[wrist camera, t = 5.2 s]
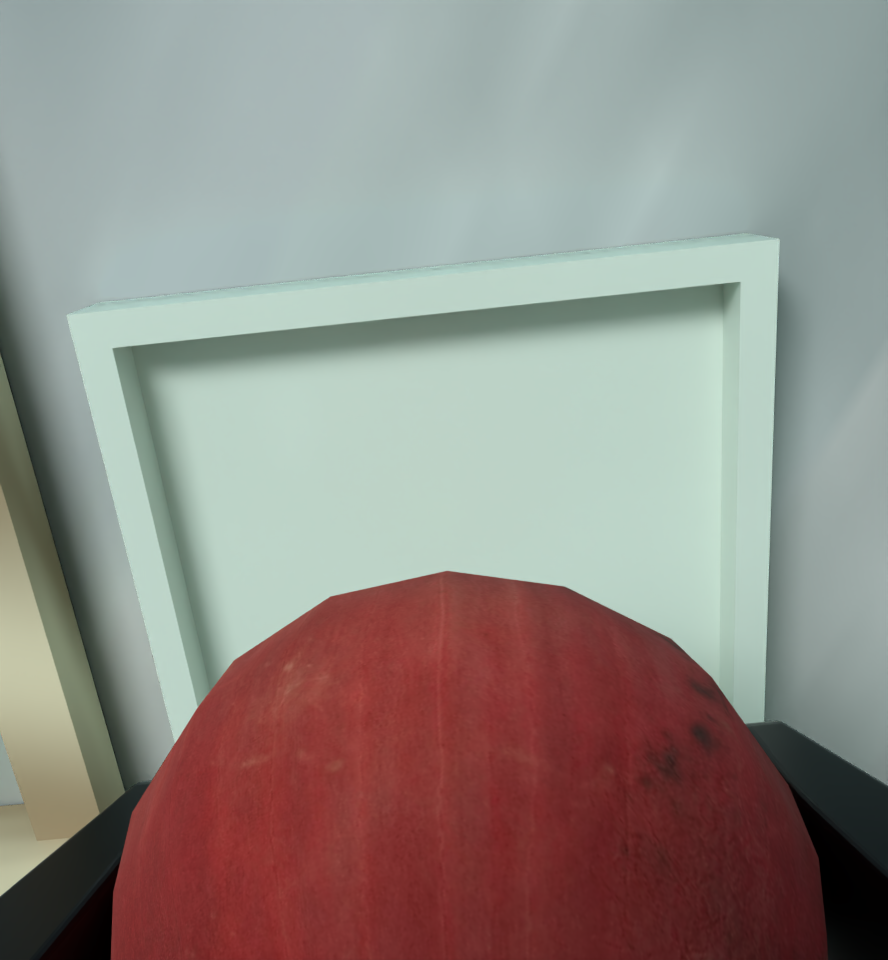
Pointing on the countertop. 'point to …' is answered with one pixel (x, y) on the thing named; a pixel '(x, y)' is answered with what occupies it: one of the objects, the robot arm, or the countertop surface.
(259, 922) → the onion
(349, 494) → the tray
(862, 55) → the countertop surface
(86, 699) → the open rectangular frame
